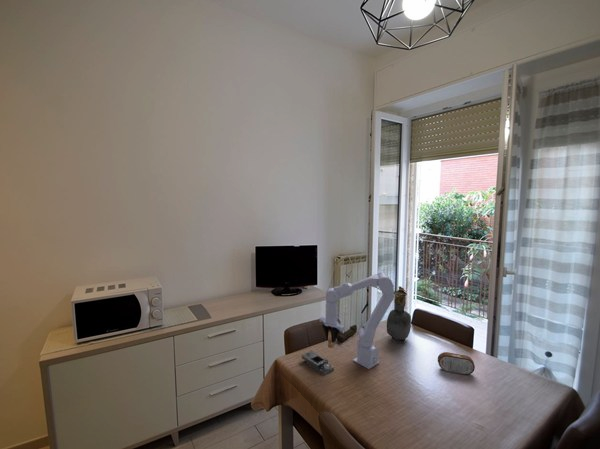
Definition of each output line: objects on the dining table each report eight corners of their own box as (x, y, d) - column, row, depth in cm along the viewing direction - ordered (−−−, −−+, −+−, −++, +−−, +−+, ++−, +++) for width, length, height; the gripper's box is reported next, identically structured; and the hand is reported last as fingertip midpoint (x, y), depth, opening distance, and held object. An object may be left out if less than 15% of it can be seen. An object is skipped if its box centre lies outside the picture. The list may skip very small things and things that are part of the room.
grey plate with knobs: (333, 370, 137) (334, 363, 137) (323, 375, 133) (323, 369, 132) (311, 356, 148) (311, 350, 148) (301, 361, 144) (301, 355, 144)
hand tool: (342, 344, 162) (342, 336, 161) (336, 341, 164) (336, 333, 164) (360, 332, 176) (360, 325, 175) (354, 330, 178) (355, 323, 178)
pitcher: (384, 342, 163) (386, 289, 160) (394, 330, 179) (396, 281, 176) (404, 348, 157) (407, 293, 154) (413, 334, 173) (415, 284, 170)
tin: (473, 373, 135) (474, 355, 135) (474, 377, 132) (476, 359, 132) (437, 367, 140) (437, 350, 140) (437, 370, 137) (438, 353, 137)
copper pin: (335, 346, 146) (335, 330, 145) (331, 348, 144) (331, 332, 143) (330, 344, 148) (331, 328, 147) (326, 346, 146) (326, 330, 145)
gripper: (315, 310, 147) (314, 337, 148) (337, 320, 136) (336, 348, 137) (325, 307, 152) (324, 333, 153) (347, 316, 141) (346, 344, 142)
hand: (331, 340), depth 145 cm, fingers closed on copper pin, 3 cm apart
